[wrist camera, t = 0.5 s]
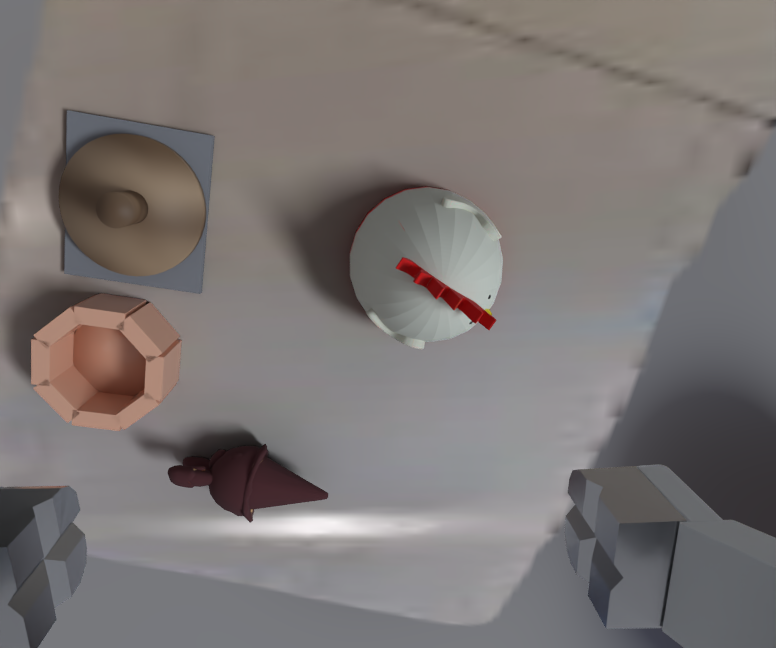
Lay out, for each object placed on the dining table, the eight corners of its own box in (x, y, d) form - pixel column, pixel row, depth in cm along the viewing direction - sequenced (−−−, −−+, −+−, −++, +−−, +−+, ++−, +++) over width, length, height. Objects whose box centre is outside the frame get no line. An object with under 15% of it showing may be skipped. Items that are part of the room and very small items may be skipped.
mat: (70, 110, 47) (66, 110, 47) (214, 136, 48) (212, 135, 48) (67, 272, 51) (64, 273, 50) (201, 292, 52) (200, 293, 51)
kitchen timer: (441, 358, 55) (471, 426, 41) (321, 284, 53) (308, 329, 38) (525, 240, 52) (589, 268, 38) (404, 155, 50) (423, 151, 35)
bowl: (61, 287, 51) (31, 300, 46) (184, 305, 52) (166, 319, 47) (60, 397, 54) (31, 420, 49) (176, 412, 55) (159, 435, 50)
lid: (66, 122, 47) (35, 117, 42) (211, 147, 48) (196, 145, 43) (64, 262, 50) (34, 272, 45) (200, 283, 51) (185, 294, 47)
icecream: (333, 468, 51) (169, 435, 50) (316, 548, 51) (153, 516, 50) (338, 450, 58) (195, 421, 57) (323, 520, 58) (180, 492, 57)
